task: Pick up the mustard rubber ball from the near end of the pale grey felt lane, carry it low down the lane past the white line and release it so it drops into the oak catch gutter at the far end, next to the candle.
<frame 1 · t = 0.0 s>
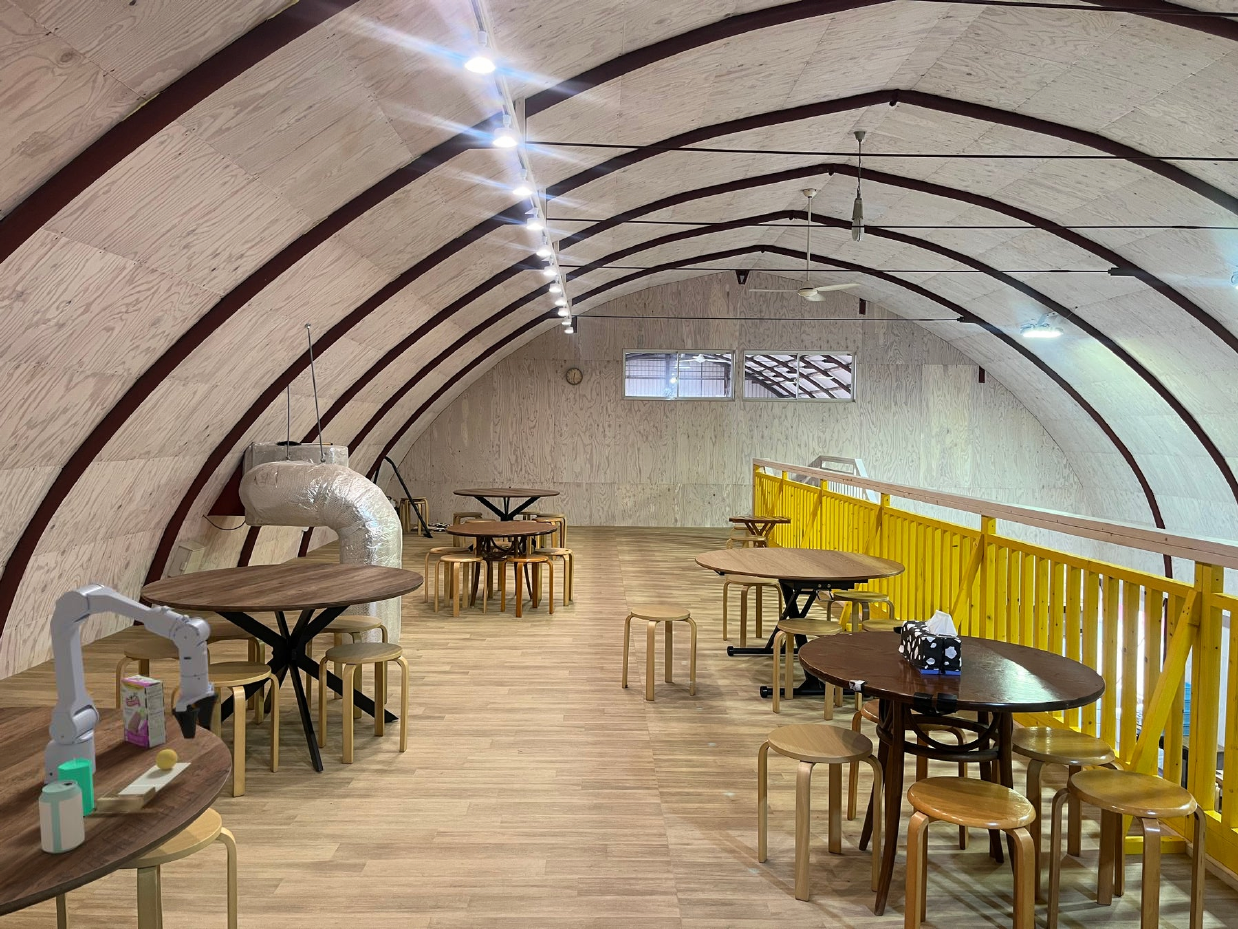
hand: (197, 732, 210), 10 cm above the table, tool pointing down, fingers open, 7 cm apart
can: (63, 847, 178), on the table
lane: (149, 787, 205), on the table
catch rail: (126, 799, 196), on the table
ball: (167, 769, 213), point 1 cm above the table, touching lane
candle: (77, 814, 193), on the table
candy bar box: (145, 745, 231), on the table
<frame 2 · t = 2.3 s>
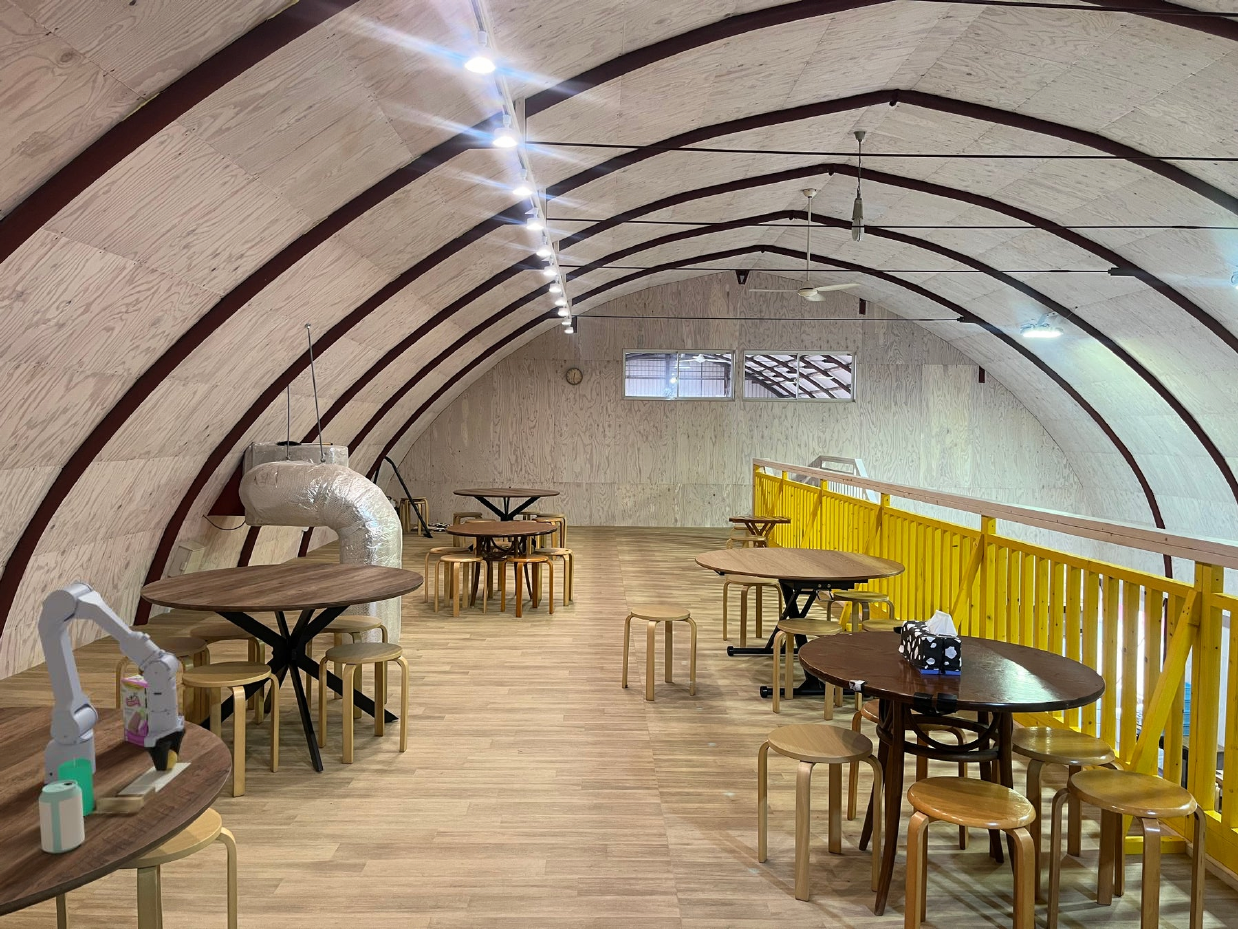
hand: (166, 766, 213), 2 cm above the table, tool pointing down, fingers closed on ball, 4 cm apart
ball: (167, 769, 213), point 1 cm above the table, touching gripper, lane
everything else where it was.
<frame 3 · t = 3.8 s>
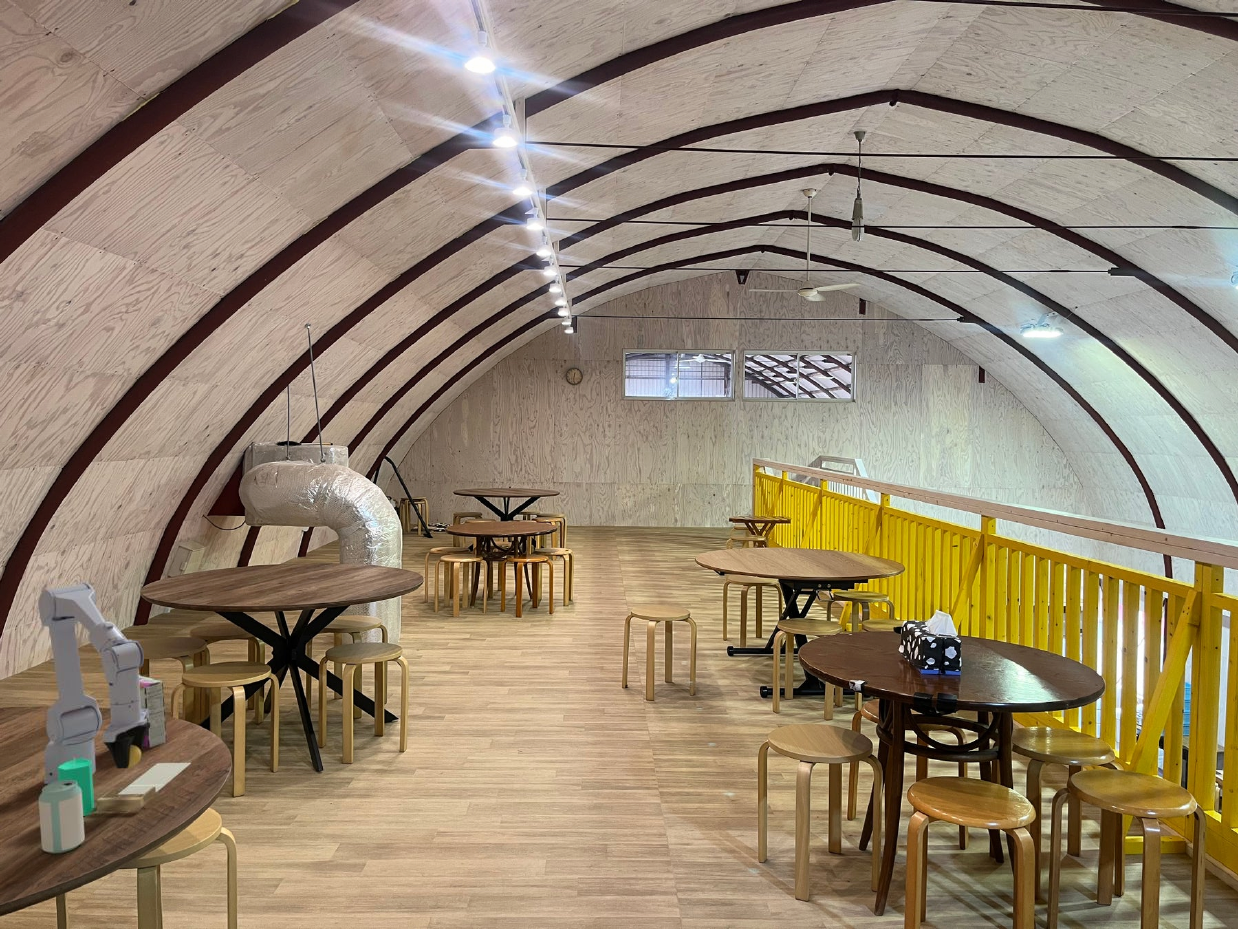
hand: (129, 763, 197), 8 cm above the table, tool pointing down, fingers closed on ball, 4 cm apart
ball: (129, 766, 197), point 8 cm above the table, touching gripper
everything else where it was.
when the fingers open (3 cm above the table, at t = 5.3 s): ball drops 2 cm, resting on lane.
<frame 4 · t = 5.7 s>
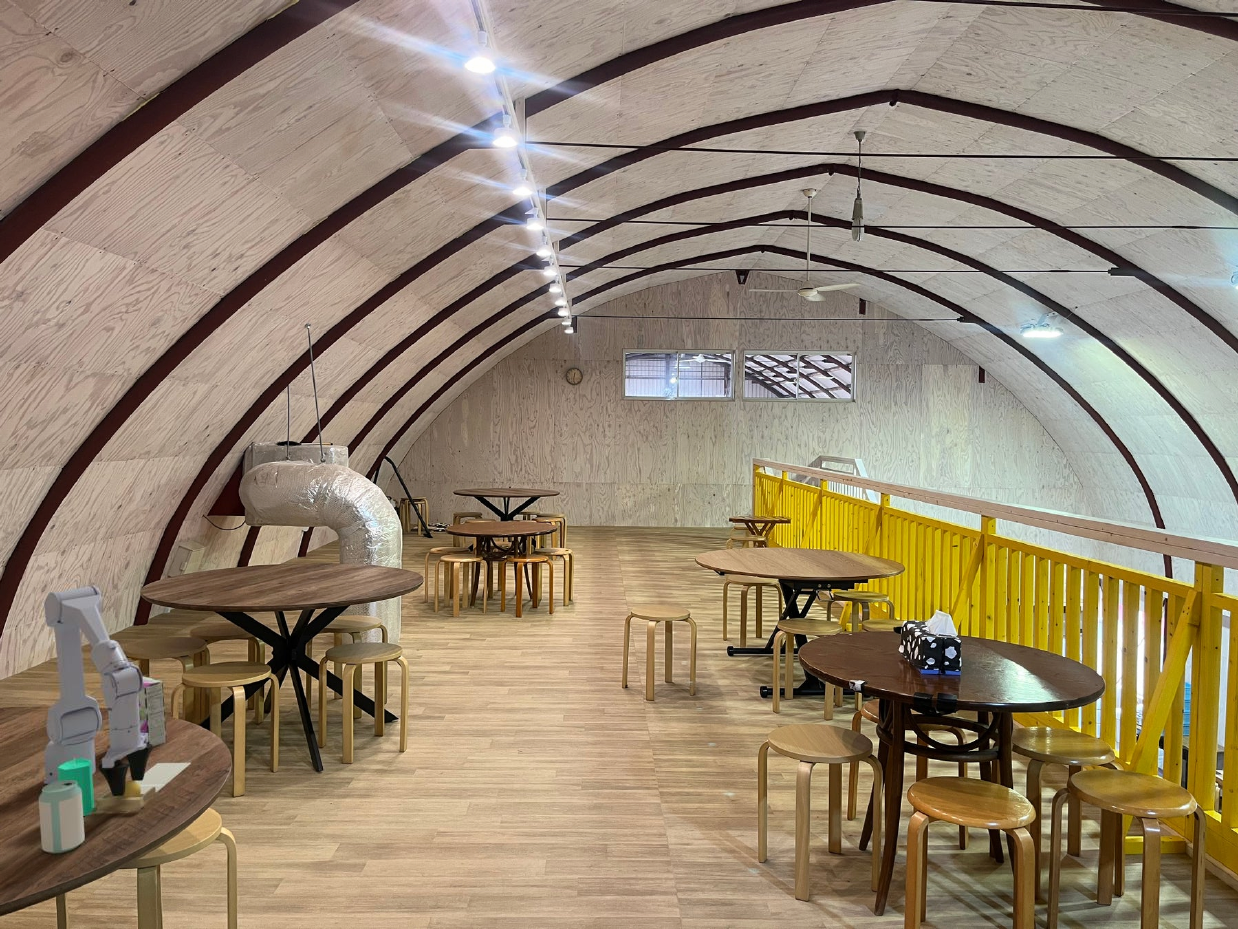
hand: (128, 787, 197), 3 cm above the table, tool pointing down, fingers open, 7 cm apart
ball: (129, 802, 197), resting on lane
everything else where it was.
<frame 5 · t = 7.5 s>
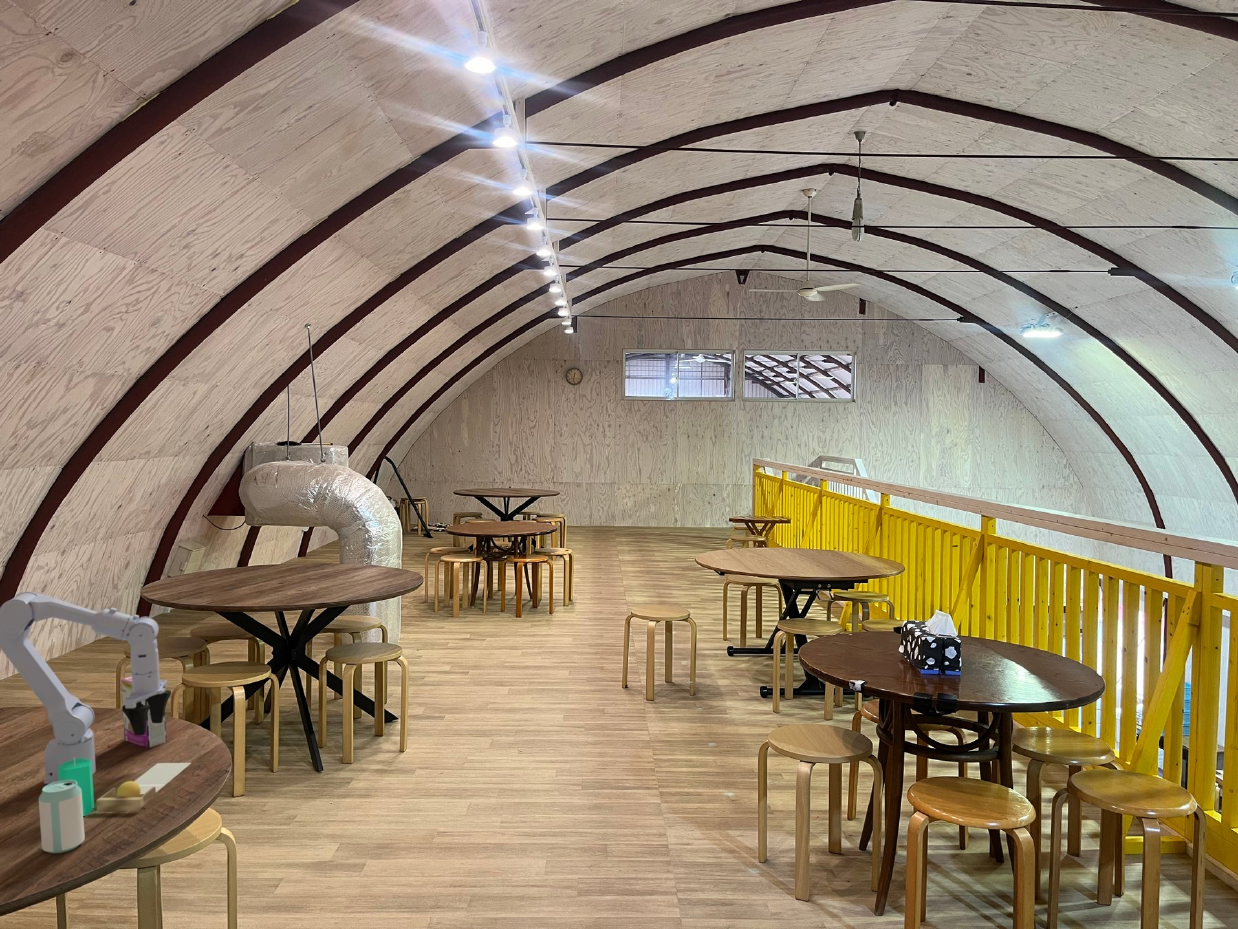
hand: (148, 728, 215), 9 cm above the table, tool pointing down, fingers open, 7 cm apart
nothing on the table moved.
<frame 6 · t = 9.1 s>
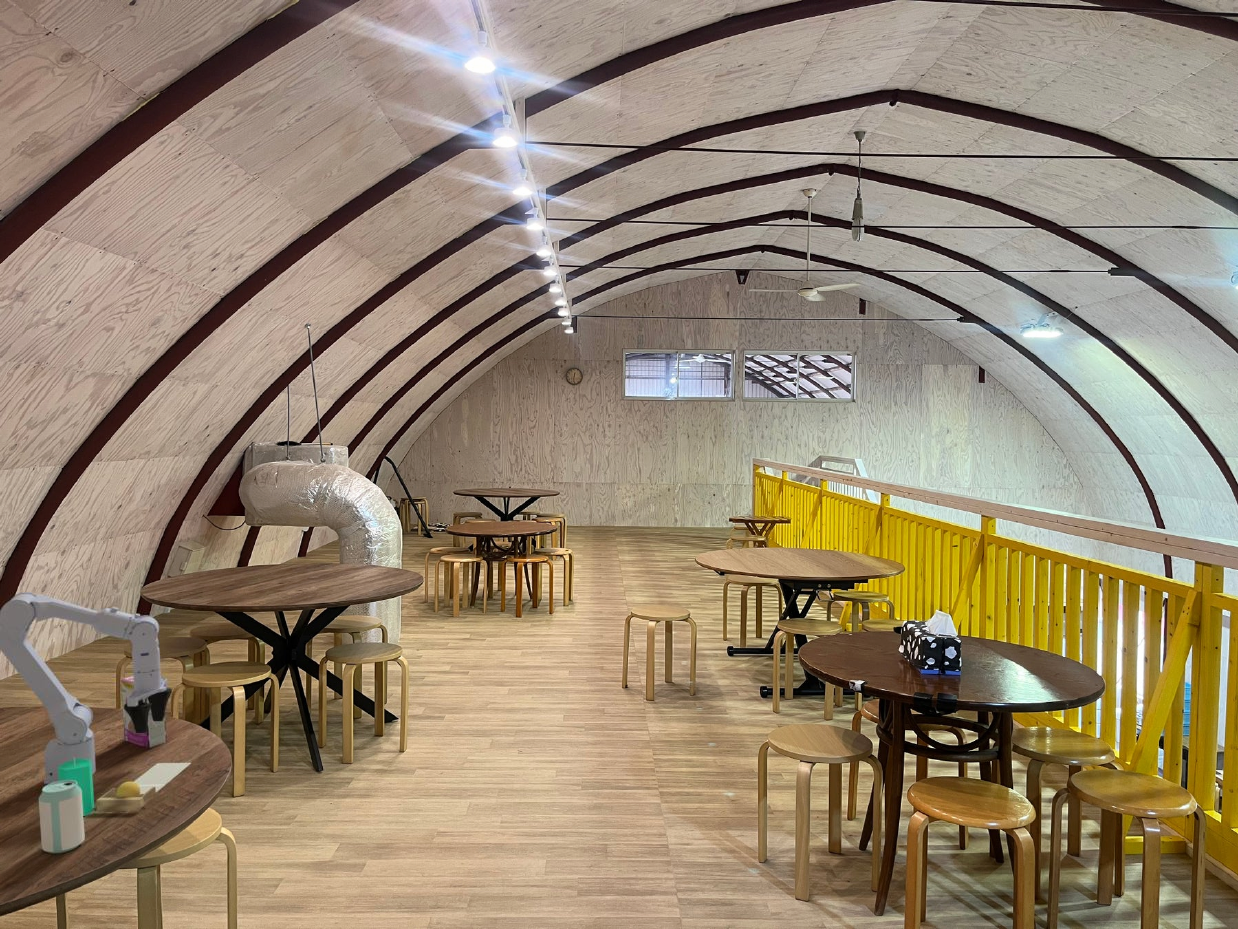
hand: (150, 726, 216), 9 cm above the table, tool pointing down, fingers open, 7 cm apart
nothing on the table moved.
at the end: ball inside the target area (0.1 cm from its centre), resting on lane; the gripper is holding nothing; ball moved 16.2 cm from its start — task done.
